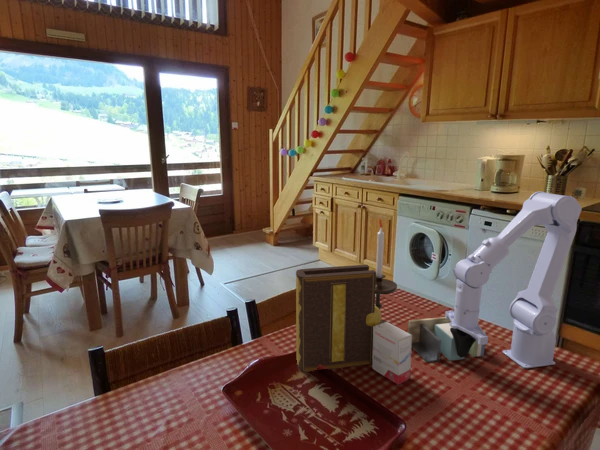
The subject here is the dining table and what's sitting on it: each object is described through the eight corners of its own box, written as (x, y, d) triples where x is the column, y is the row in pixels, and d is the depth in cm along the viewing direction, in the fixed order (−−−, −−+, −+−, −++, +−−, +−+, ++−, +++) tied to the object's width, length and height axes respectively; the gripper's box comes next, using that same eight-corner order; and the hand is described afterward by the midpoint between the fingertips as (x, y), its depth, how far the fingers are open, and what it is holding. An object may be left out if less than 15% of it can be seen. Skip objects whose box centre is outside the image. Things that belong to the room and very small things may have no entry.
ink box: (411, 379, 90) (414, 334, 87) (396, 386, 87) (399, 340, 85) (384, 362, 97) (386, 320, 95) (370, 368, 94) (372, 325, 92)
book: (300, 375, 91) (300, 279, 86) (294, 356, 99) (293, 268, 94) (384, 364, 96) (388, 273, 91) (371, 347, 104) (374, 262, 99)
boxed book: (447, 343, 106) (449, 322, 105) (464, 358, 98) (466, 336, 97) (433, 345, 105) (434, 324, 104) (449, 360, 98) (451, 338, 96)
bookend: (421, 343, 106) (422, 323, 105) (439, 361, 97) (441, 340, 96) (409, 344, 106) (411, 325, 104) (426, 362, 97) (428, 341, 95)
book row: (462, 338, 109) (464, 316, 107) (483, 355, 100) (486, 331, 98) (452, 339, 108) (454, 317, 107) (473, 356, 99) (475, 332, 98)
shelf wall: (463, 336, 110) (465, 314, 108) (464, 338, 109) (466, 316, 108) (406, 342, 106) (408, 320, 105) (408, 344, 106) (409, 321, 104)
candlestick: (367, 338, 109) (372, 222, 102) (353, 321, 119) (357, 215, 112) (401, 334, 111) (407, 220, 104) (384, 318, 122) (390, 213, 114)
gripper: (436, 296, 99) (432, 343, 102) (471, 321, 85) (465, 374, 88) (460, 294, 101) (455, 340, 103) (498, 318, 87) (492, 370, 89)
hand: (462, 355), depth 96 cm, fingers closed
